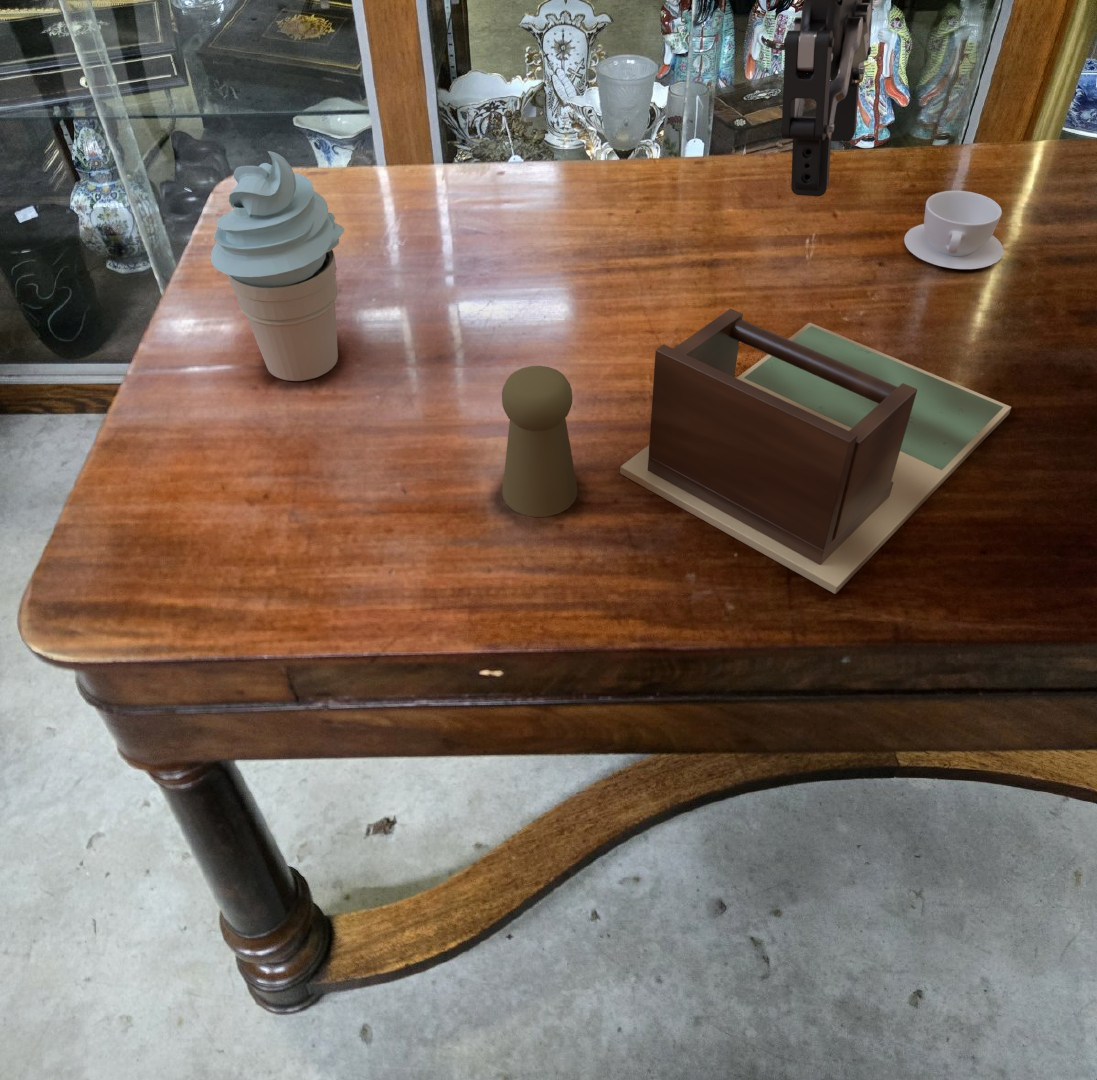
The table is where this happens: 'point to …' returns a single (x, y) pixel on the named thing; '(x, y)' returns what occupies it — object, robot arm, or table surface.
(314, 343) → the ice cream cone
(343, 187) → the table surface
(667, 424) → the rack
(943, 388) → the board
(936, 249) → the teacup
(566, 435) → the olive pawn
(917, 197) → the table surface
